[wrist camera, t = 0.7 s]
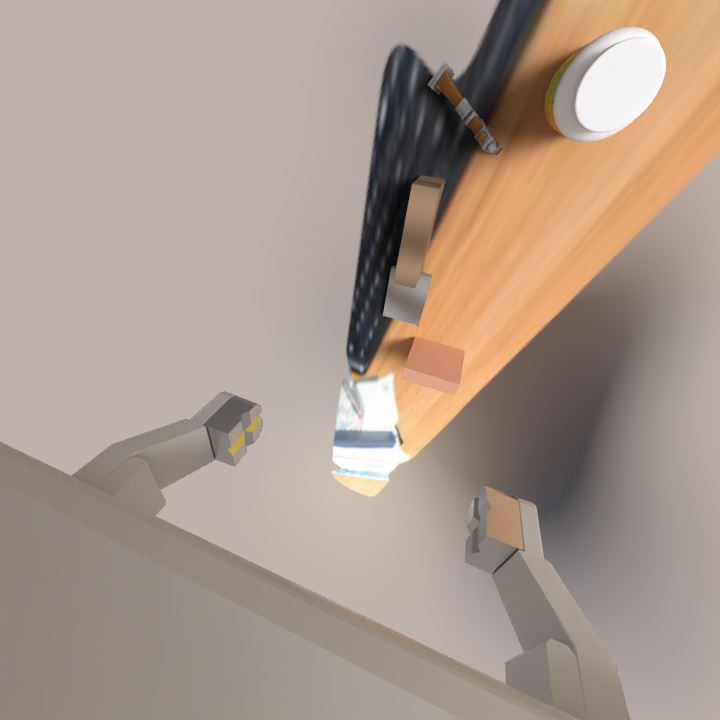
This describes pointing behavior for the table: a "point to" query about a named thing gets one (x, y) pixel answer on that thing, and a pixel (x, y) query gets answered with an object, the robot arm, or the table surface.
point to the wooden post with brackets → (464, 108)
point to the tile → (434, 365)
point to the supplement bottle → (605, 85)
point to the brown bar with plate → (414, 253)
